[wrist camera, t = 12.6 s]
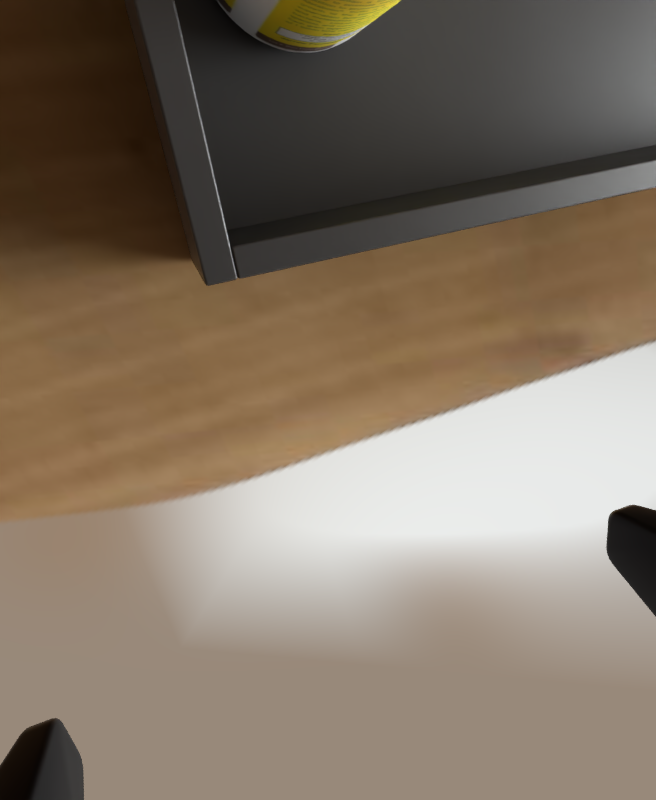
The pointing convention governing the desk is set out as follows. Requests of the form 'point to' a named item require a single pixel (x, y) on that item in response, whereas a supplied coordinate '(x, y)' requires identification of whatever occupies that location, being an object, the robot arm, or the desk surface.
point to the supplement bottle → (304, 21)
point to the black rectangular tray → (395, 123)
